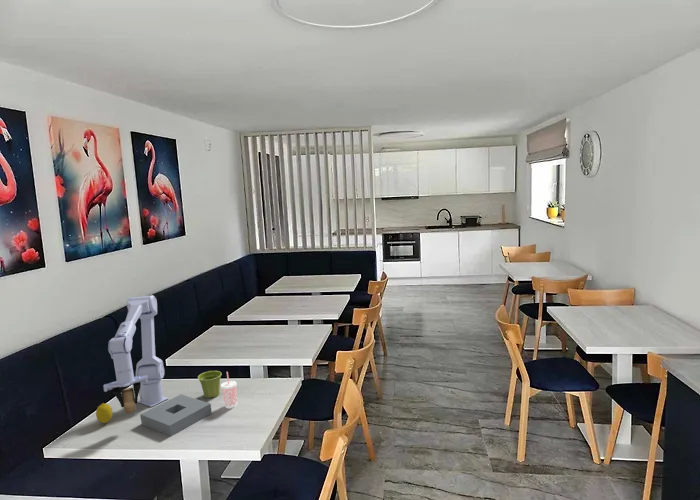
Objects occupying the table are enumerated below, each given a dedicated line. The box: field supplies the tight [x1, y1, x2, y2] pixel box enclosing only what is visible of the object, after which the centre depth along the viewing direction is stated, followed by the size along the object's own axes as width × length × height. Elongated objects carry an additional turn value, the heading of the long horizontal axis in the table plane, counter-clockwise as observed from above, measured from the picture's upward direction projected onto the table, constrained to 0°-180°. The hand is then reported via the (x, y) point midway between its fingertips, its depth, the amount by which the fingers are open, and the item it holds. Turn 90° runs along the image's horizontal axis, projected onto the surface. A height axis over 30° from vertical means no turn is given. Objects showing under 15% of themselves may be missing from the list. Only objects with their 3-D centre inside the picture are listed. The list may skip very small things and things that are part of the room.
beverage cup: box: [220, 371, 238, 409], centre depth 190 cm, size 6×6×14 cm
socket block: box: [140, 394, 213, 437], centre depth 183 cm, size 18×18×4 cm
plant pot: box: [197, 370, 222, 399], centre depth 201 cm, size 9×9×9 cm
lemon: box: [95, 402, 113, 424], centre depth 184 cm, size 6×6×8 cm
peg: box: [121, 387, 137, 414], centre depth 177 cm, size 4×4×8 cm
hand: (129, 404), depth 177 cm, fingers closed on peg, 4 cm apart
